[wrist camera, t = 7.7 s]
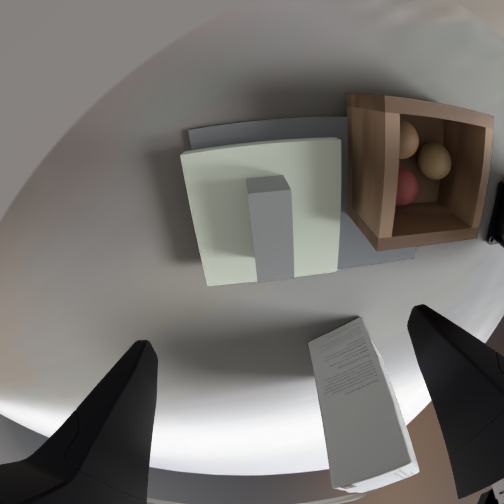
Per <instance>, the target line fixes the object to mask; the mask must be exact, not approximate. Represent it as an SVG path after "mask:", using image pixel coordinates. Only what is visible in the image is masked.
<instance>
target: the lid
mask: <svg viewBox="0 0 504 504" xmlns="http://www.w3.org/2000/svg"><path fill="white" fill-rule="evenodd" d="M180 157H181V163H182V168H183V174H184V179H185V184H186V189H187V195H188V200H189V205H190V210H191V214H192V219H193V224H194V229H195V233H196V238H197V243H198V247H199V251H200V256H201V260H202V265H203V269H204V273H205V277H206V282H207V286H215V285H225V284H235V283H245V282H255V281H257V282H266V281H275V280H284V279H292V278H294V277H299V276H307V275H315V274H323V273H331V272H337V266H338V252H339V236H340V214H341V140H340V139H338V138H336V137H327V138H302V139H285V140H272V141H261V142H251V143H242V144H233V145H225V146H218V147H211V148H204V149H197V150H191V151H185V152H183V153H182V154H181V155H180Z"/></svg>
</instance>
